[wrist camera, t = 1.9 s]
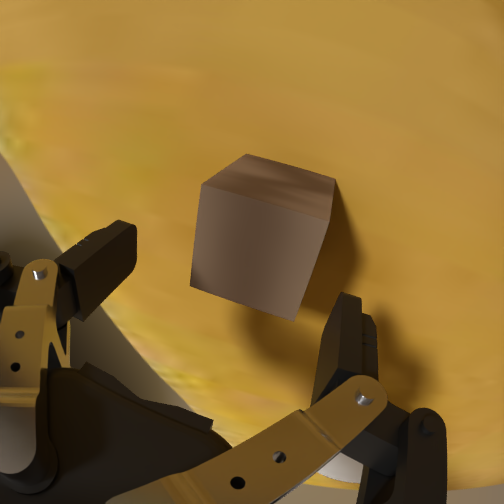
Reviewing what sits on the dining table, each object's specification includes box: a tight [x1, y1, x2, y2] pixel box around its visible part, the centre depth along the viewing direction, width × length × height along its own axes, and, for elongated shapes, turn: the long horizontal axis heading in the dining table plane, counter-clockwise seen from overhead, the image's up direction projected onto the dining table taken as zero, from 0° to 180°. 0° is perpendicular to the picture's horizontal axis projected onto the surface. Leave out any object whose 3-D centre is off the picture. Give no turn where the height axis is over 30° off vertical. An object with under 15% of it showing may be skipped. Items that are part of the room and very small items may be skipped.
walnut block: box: [190, 154, 335, 321], centre depth 16 cm, size 5×5×6 cm
